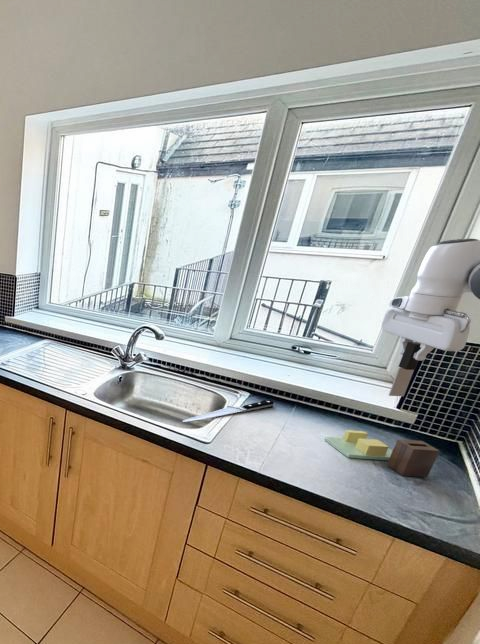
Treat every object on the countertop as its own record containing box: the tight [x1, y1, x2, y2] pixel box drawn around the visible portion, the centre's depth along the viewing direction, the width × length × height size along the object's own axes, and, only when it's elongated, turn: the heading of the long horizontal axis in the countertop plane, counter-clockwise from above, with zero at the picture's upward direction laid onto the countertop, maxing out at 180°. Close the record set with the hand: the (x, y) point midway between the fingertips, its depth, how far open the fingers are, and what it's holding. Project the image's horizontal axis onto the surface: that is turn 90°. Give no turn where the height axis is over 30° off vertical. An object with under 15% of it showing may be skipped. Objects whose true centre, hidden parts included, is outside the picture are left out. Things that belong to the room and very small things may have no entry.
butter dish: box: [323, 436, 393, 461], centre depth 121 cm, size 14×10×1 cm
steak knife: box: [182, 399, 275, 423], centre depth 142 cm, size 5×41×2 cm, turn 108°
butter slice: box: [342, 429, 369, 442], centre depth 124 cm, size 5×2×3 cm, turn 83°
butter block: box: [355, 438, 390, 456], centre depth 118 cm, size 5×4×3 cm
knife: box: [388, 341, 421, 397], centre depth 112 cm, size 4×2×15 cm
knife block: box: [386, 439, 440, 478], centre depth 110 cm, size 6×5×8 cm
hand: (411, 357), depth 111 cm, fingers closed on knife, 2 cm apart
